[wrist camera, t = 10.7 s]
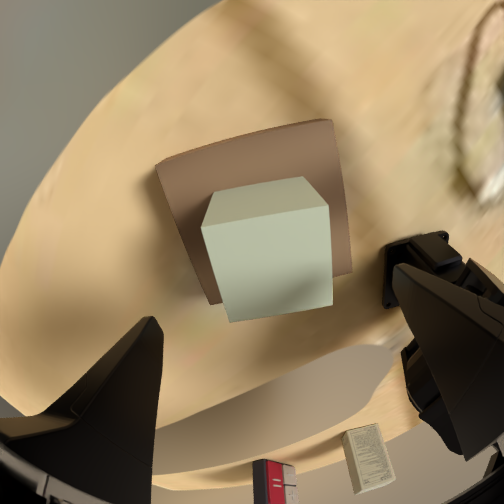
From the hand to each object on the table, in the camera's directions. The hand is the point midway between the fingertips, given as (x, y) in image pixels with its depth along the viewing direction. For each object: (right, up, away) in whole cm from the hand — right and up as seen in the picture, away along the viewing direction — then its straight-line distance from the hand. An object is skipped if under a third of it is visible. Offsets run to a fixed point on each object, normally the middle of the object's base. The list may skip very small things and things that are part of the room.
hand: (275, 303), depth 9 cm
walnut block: (0, +5, +9) cm, 10 cm away
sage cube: (0, +3, +7) cm, 7 cm away
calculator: (+4, -42, +34) cm, 55 cm away
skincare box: (+18, -29, +28) cm, 44 cm away
